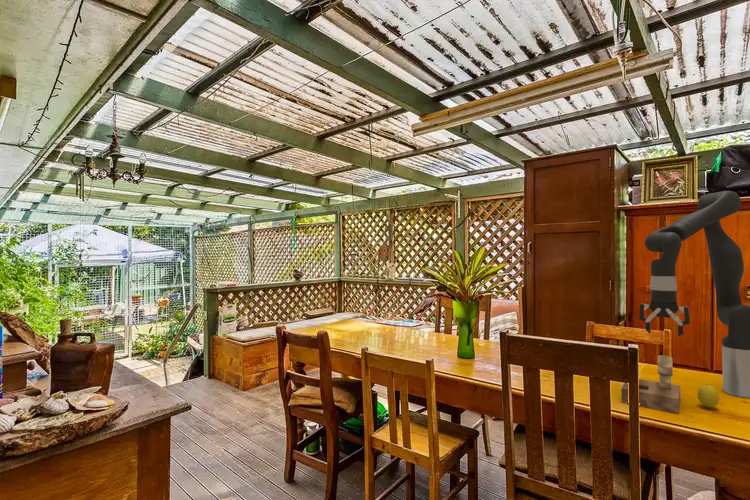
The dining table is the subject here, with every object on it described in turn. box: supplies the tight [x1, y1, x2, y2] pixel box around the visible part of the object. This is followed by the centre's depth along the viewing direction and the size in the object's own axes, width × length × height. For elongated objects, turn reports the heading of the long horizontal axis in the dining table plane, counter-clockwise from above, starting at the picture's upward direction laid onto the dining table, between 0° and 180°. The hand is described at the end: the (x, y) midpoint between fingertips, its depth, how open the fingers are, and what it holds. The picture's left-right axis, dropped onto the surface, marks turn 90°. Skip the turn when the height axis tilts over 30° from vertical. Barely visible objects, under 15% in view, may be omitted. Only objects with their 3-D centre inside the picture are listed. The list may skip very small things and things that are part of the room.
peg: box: [657, 354, 674, 390], centre depth 137 cm, size 4×4×11 cm
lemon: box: [697, 383, 720, 409], centre depth 131 cm, size 6×6×8 cm
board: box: [620, 378, 682, 415], centre depth 138 cm, size 16×15×5 cm
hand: (664, 334), depth 137 cm, fingers open, 8 cm apart
